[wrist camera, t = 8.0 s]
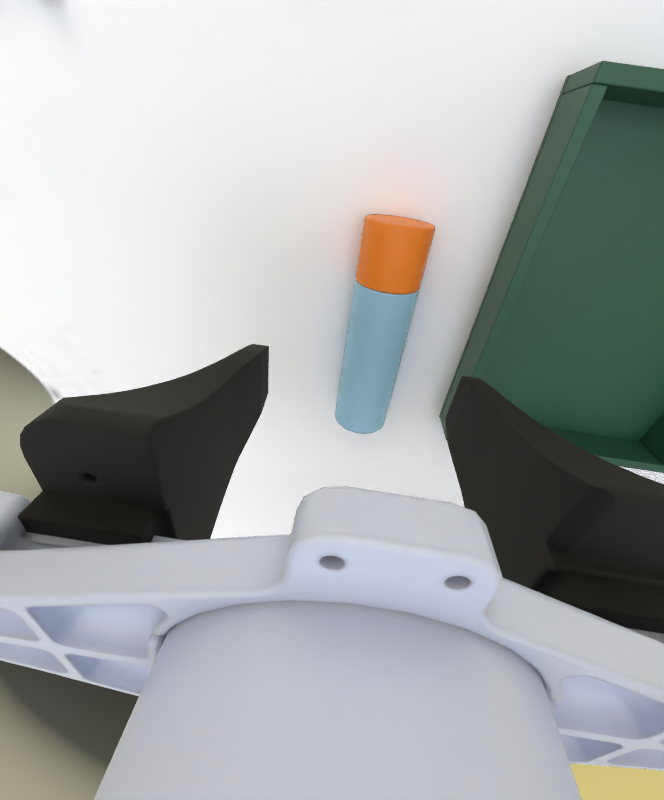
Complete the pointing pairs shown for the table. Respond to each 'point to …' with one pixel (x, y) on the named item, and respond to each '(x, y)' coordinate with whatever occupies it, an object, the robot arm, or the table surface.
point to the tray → (586, 275)
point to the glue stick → (380, 317)
